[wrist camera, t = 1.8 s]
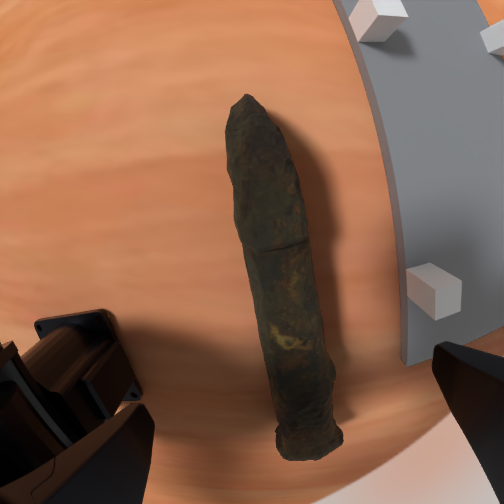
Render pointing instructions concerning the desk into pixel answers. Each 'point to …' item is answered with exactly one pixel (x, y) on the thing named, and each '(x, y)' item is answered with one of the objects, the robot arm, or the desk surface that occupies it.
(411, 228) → the plate
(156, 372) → the desk surface
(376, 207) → the desk surface
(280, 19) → the desk surface
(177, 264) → the desk surface
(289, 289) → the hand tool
